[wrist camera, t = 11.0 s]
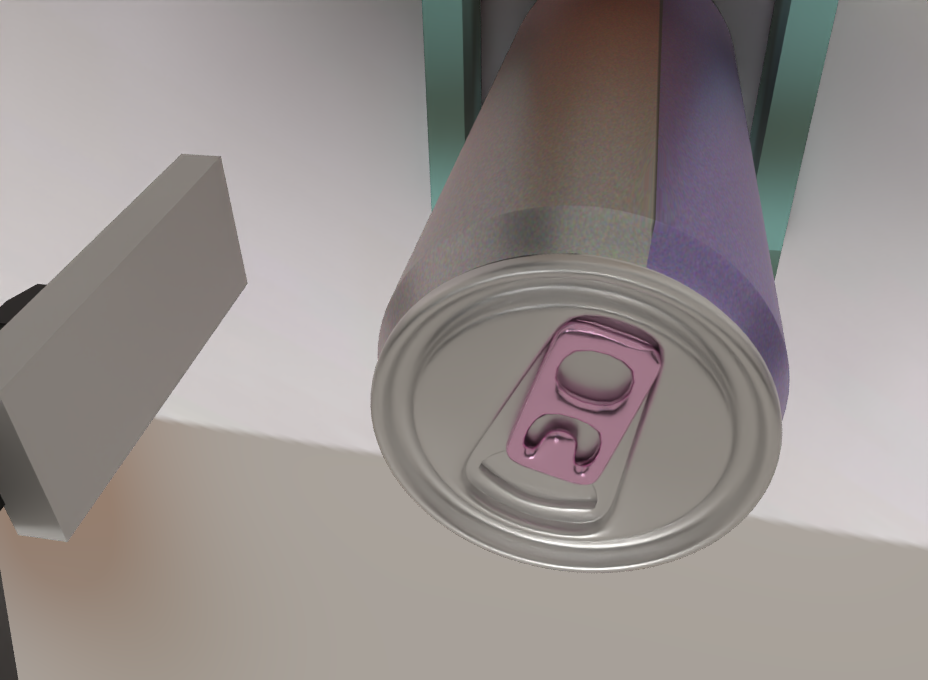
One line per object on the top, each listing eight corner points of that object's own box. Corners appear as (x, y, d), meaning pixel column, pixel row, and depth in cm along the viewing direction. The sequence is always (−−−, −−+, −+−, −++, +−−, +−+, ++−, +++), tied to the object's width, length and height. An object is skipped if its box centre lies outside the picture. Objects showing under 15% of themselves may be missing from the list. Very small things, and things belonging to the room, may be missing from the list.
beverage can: (775, -1, 22) (896, 352, 10) (677, 198, 25) (680, 628, 14) (553, -79, 22) (409, 182, 10) (486, 131, 25) (323, 506, 14)
